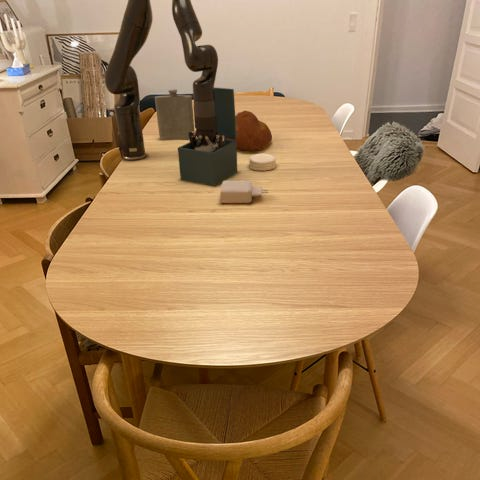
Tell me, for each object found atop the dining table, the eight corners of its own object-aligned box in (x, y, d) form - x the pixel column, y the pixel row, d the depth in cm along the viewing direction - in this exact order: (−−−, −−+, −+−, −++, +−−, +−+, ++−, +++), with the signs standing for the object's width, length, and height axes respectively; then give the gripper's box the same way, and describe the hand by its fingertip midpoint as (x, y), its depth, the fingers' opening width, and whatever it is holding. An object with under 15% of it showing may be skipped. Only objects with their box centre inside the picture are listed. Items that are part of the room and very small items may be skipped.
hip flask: (159, 140, 210) (153, 91, 198) (160, 137, 213) (154, 89, 201) (194, 139, 209) (190, 90, 197) (195, 136, 212) (191, 88, 200)
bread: (224, 155, 189) (222, 123, 182) (221, 133, 216) (220, 104, 208) (276, 153, 190) (276, 120, 183) (267, 131, 216) (267, 102, 209)
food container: (215, 176, 164) (211, 147, 158) (198, 177, 165) (194, 148, 160) (224, 166, 174) (220, 138, 168) (208, 166, 175) (204, 139, 170)
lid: (232, 89, 156) (240, 85, 159) (195, 86, 161) (204, 82, 165) (235, 139, 166) (243, 134, 170) (201, 135, 172) (209, 130, 176)
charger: (267, 204, 149) (220, 204, 150) (268, 193, 156) (223, 193, 157) (268, 190, 146) (220, 189, 147) (268, 179, 153) (223, 179, 154)
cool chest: (215, 186, 163) (213, 153, 156) (180, 180, 169) (177, 147, 162) (237, 172, 173) (236, 140, 167) (204, 166, 179) (201, 136, 173)
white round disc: (243, 167, 177) (243, 158, 175) (261, 160, 183) (261, 151, 181) (264, 173, 172) (264, 163, 170) (281, 166, 178) (281, 156, 175)
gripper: (229, 113, 158) (231, 163, 168) (193, 109, 164) (197, 157, 174) (217, 118, 153) (220, 169, 163) (181, 114, 159) (185, 163, 169)
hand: (208, 163), depth 168 cm, fingers open, 6 cm apart
